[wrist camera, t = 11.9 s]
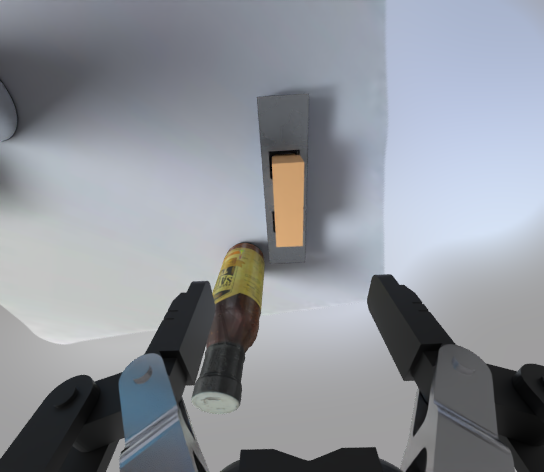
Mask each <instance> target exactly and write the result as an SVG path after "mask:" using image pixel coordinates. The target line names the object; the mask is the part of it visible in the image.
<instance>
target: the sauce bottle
mask: <svg viewBox="0 0 544 472" xmlns="http://www.w3.org/2000/svg"><path fill="white" fill-rule="evenodd" d="M264 267H265V264H264V257H263V253H262V251H261V250H260V249H259V248H258V247H256V246H255V245H253V244H249V243H239V244H237V245H235V246H233V247H232V248H231V249H230V250H229V251H228V253H227V255H226V256H225V258H224V261H223V264H222V267H221V270H220V273H219V276H218V279H217V282H216V285H215V287H214V290H213V293H212V294H213V298H214V302H215V315H214V318H213V322H212V325H211V329H210V332H209V336H208V339H207V343H206V346H207V350H206V352H205V359H204V363H203V367H202V370H201V373H200V377H199V378H198V380H197V381H196V383H195V386H194V391H193V395H192V403H193V405H194V406H195V407H196V408H198V409H200V410H201V411H204V412H207V413H213V414H224V413H230V412H233V411H235V410H237V408H238V407H239V406H240V401H241V392H242V385H241V377H242V370H243V363H244V360H245V352H246V351H247V350H248V348H249V347H251V346H252V344H253V343H254V341H255V339H256V337H257V333H258V329H259V317H260V314H261V305H262V292H263V280H264Z"/></svg>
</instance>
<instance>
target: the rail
mask: <svg viewBox="0 0 544 472" xmlns="http://www.w3.org/2000/svg"><path fill="white" fill-rule="evenodd" d="M257 104H258V117H259V130H260V143H261V156H262V170H263V183H264V196H265V209H266V222H267V235H268V248H269V261H270V264H271V263H296V262H305V237H306V195H307V152H308V110H309V94H294V95H279V96H265V97H257ZM284 150H297V155H300V156H301V158H302V159H303V161H304V206H303V246H292V247H276V231H275V221H273V211H274V193H273V175H272V172H271V170H270V152H269V151H284Z"/></svg>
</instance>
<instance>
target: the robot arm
mask: <svg viewBox="0 0 544 472" xmlns="http://www.w3.org/2000/svg"><path fill="white" fill-rule="evenodd" d="M16 126H17V114H16V110H15V106H14V103H13V101H12V99H11V97H10V95H9V93H8V91H7V90H6V88H5V87H4V85H3V84H2V82H1V81H0V142H1V141H4V140H7V139H9V138H10V137H11V136H12V135H13V134H14V132H15V130H16ZM367 304H368V308H369V311H370V313H371V315H372V317H373V319H374V321H375V323H376V325H377V327H378V329H379V331H380V333H381V335H382V338H383V340H384V342H385V344H386V346H387V348H388V350H389V352H390V354H391V356H392V358H393V360H394V362H395V364H396V366H397V368H398V370H399V372H400V374H401V376H402V378H403V380H404V381H415V382H416V384H417V386H418V389H417V392H416V398H415V404H414V410H413V416H412V422H411V428H410V434H409V439H408V444H407V446H406V449H405V452H404V456H403V459H402V463H401V468H400V469H399V468H397V467H395V466H394V465H392V464H390V463H388V462H386V461H384V460H382V459H379V457H378V454H377V451H376V448H375V447H368V448H341V449H338V450H336V451H334V452H331V453H329V454H326V455H324V456H321V457H319V458H316V459H314V460H311V461H307V460H303V459H300V458H298V457H294V456H292V455H289V454H286V453H283V452H280V451H277V450H274V449H260V450H259V449H257V450H256V449H255V450H241V453H240V460H238V461H236V462H234V463H232V464H230V465H229V466H227V467H226V468H224V469H223V470H222V471H220V472H515V469H516V470H517V472H544V366H541V365H537V364H525V365H524V366H522V367H521V368H520V369H519V370H518V372H517V371H513V370H509V369H505V368H501V367H497V366H493V365H489V364H486V363H485V362H484V361H483V360H482V359H481V358H480V357H479V356H477V355H476V354H474V353H473V352H471V351H470V350H468V349H466V348H463V347H461V346H458V345H456V344H455V343H454V342H453V340H452V339H451V338H450V337H449V336H448V334H447V333H446V332H445V330H444V329H443V328H442V327H441V325H440V324H439V323H438V322H437V321H436V319H435V318H434V316H433V315H432V314H431V313H430V312H429V311H428V309H427V308H426V306H425V305H424V304H422V302H421V300H420V299H419V298H418V296H417V295H416V294H415V293H414V292H413V291H412V290H410V289H409V288H407V287H406V286H405V285H399V284H398V282H397V281H396V280H395V278H394V277H393V276H392V275H389V274H387V275H374V276H373V277H372V280H371V285H370V289H369V293H368V298H367ZM214 315H215V302H214V298H213V294H212V290H211V286H210V283H209V281H195V282H192V283H191V285H190V287H189V289H188V291H187V293H181V294H180V295H178V296H177V297H176V298H175V299H174V300H173V302H172V304H171V305H170V307H169V309H168V312H167V313H166V315H165V317H164V320H163V321H162V322H161V324H160V326H159V328H158V330H157V332H156V334H155V336H154V338H153V339H152V341H151V344H150V345H149V347H148V349H147V351H146V353H145V354H144V355H142V356H140V357H138V358H137V359H135V360H134V361H132V362H131V363H130V364H129V365H128V366H127V367H126V368H125V370H124V371H123V372H121V373H119V374H116V375H113V376H110V377H107V378H104V379H101V380H98V381H95V382H94V381H93V380H92V378H91V377H89V376H87V375H79V376H75V377H73V378H70V379H69V380H66V381H65V382H63V383H62V384H60V385H59V386H58V387H56V388H55V389H54V390H53V391H52V392H51V393H50V394H49V395H48V396H47V397H46V398H45V400H44V401H43V403H42V404H41V405H40V406H39V408H38V409H37V411H36V412H35V413H34V415H33V416H32V418H31V419H30V420H29V421H28V423H27V424H26V425H25V427H24V428H23V429H22V431H21V432H20V433H19V435H18V436H17V438H16V439H15V440H14V441H13V443H12V444H11V445H10V447H9V448H8V450H7V451H6V452H5V454H4V455H3V456H2V458H1V459H0V472H106V470H107V468H108V465H109V463H110V460H111V458H112V456H113V453H114V451H115V449H116V446H117V444H118V442H119V440H120V439H122V438H125V449H124V450H123V451H122V452H121V455H120V472H209V470H208V467H207V464H206V462H205V459H204V456H203V454H202V452H201V449H200V447H199V444H198V442H197V439H196V436H195V433H194V430H193V427H192V424H191V421H190V418H189V416H188V413H187V410H186V407H185V404H184V401H183V398H182V394H183V391H184V388H185V385H195V381H196V378H197V374H198V371H199V367H200V364H201V360H202V356H203V353H204V350H205V346H206V343H207V339H208V336H209V332H210V329H211V325H212V322H213V318H214ZM514 467H515V469H514Z"/></svg>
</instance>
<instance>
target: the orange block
mask: <svg viewBox="0 0 544 472" xmlns="http://www.w3.org/2000/svg"><path fill="white" fill-rule="evenodd" d="M272 175H273V193H274V212H275V231H276V247H292V246H303V206H304V161H303V159H302V158H301V156H300V155H295V153H289V154H275V156H272Z"/></svg>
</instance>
